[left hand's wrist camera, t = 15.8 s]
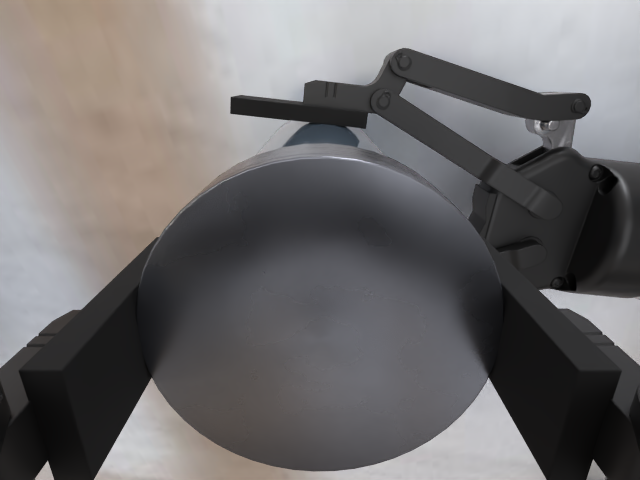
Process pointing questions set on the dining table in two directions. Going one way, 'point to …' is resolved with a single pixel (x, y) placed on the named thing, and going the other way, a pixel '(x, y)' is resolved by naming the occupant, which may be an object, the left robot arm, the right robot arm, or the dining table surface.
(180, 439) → the dining table surface
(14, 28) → the dining table surface
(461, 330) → the lid
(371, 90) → the right robot arm
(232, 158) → the dining table surface
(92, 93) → the dining table surface
